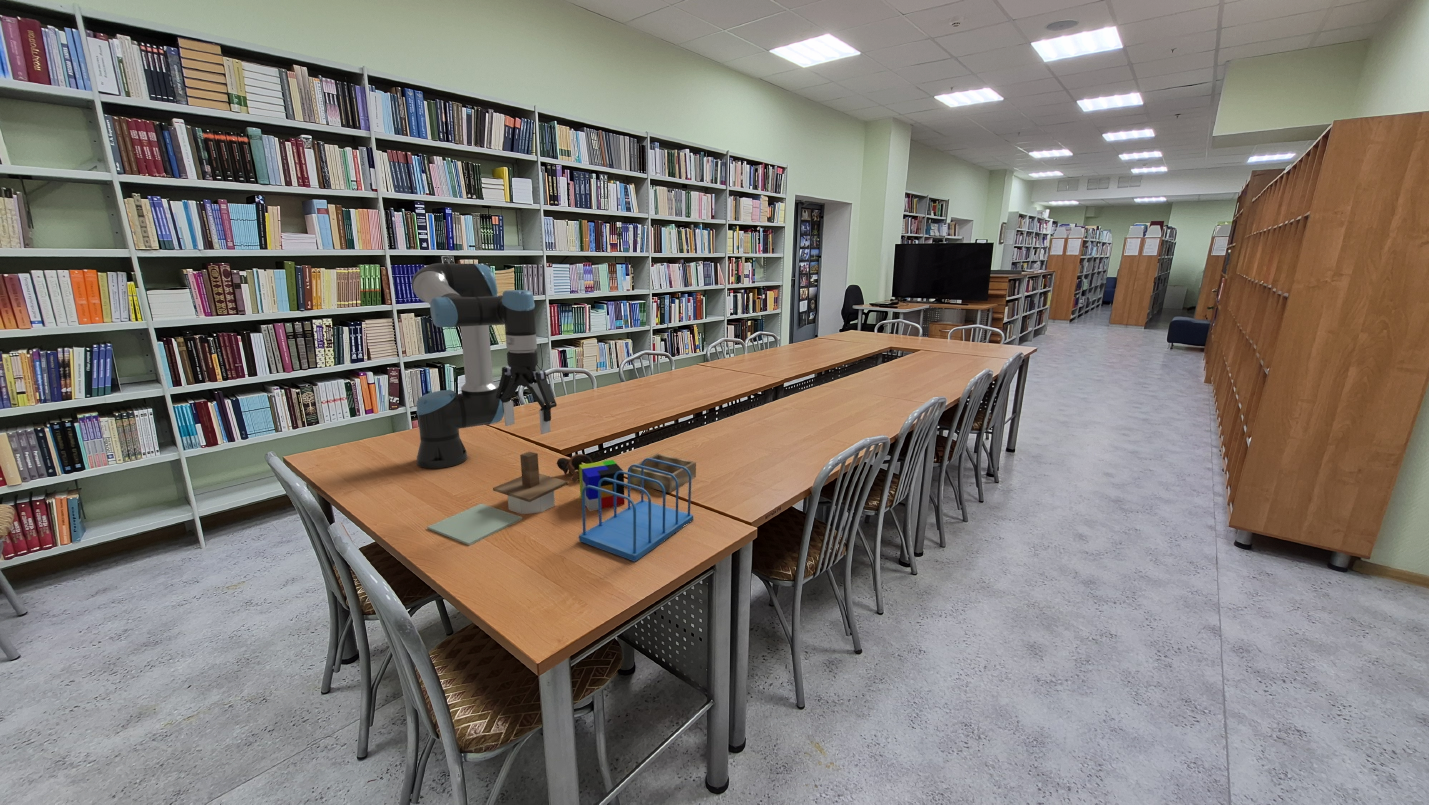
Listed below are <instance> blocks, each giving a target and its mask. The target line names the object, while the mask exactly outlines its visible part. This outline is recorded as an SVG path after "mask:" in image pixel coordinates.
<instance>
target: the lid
mask: <svg viewBox="0 0 1429 805" xmlns="http://www.w3.org/2000/svg"><path fill="white" fill-rule="evenodd" d="M520 470H521V476H518V477H516V478H513V479H511V480H509V481H506V482H504V483H501V484H499V485H497V486H494V487H492V491H493V492H496V493H499V494H503V495H506V496H507V497H508V496H512V497H515V498H518V499H521V500H524V501H527V502H531V501H533V500H535V499H537V498H540V497H542V496H544V495H546V494H548V493H550V492H552V491H554V492H555V491H556V490H559V489H561V488H563V487H565V486H567V485H569V482H568V481H567V480H564V479H561V478H556V477H553V476H550V475H546V474H542V473H540V471H539V470H540V467H539V455H538V453H537V452H534V451H527V452H525V453H521V454H520Z"/></svg>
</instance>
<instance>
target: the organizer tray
mask: <svg viewBox="0 0 1429 805" xmlns="http://www.w3.org/2000/svg"><path fill="white" fill-rule="evenodd" d="M648 458H652V459H657V460H661V461H665V462H669V463H673V464H676V465H680V466H684V467H686V468H687V469H688V470H689V471H690V473H691V481H692V480H693V479H695V478H696V477H697V462H696V461H691V460H689V459H684V458H683V459H682V458H678V457H674V456H669V455H666V454H660V453H656V454H654V455H651V456H650V457H648ZM642 462H643V460H641V461H639V462H638V463H636V464H637V465H642ZM644 466H645V467H649V468H653V469H657V470H661V471H665V472H668V473H671V474H673V475H674V476H675V477H676V478H677V480H678V485H679V488H680V487H682V486H683V485H685V484H687V483H689V475H688V473H687V471H686V470H684V469H682V468H678V467H675V466H671V465H667V464H663V463H659V462H655V461H651V460H646V461H645V462H644ZM630 473H633V474H636V475H640V476H641V468H639V467H632V468H631V469H630ZM644 477H647V478H651V479H654V480H657V481H659V482H661V483H662V484H663V486H664V488H665V493H666V494H667V493H668V494H670V493H673V492H674V491H676V482H675V480H674V478H673V477H671V476H669V475H666V474H662V473H659V472H655V471H651V470H647V469H644ZM630 484H632V485H636V486H641V478H638V477H634V476H630ZM644 487H645V488H649V489H652V490H657V491H660V492H663V490H662V488H661V486H660V485H659V484H657V483H655V482H652V481H648V480H645V479H644Z"/></svg>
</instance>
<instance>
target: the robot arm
mask: <svg viewBox="0 0 1429 805" xmlns="http://www.w3.org/2000/svg"><path fill="white" fill-rule="evenodd" d="M411 288H412V291H413V293H414V294H415V295H416V297H417V298H418V299H419V300H420V301H422V302H425V303H427V304H428V305H429V306H430V307H429V308H430V309H429V310H430V311H429V312H430V317H431V320H432V323H433V325H434V326H435V327H438V328H449V329H451V328H459V327H460V335H461V344H462V355H463V356H462V357H463V368H464V370H463V371H464V378H465V379H464V380H465V383H464V384H463V385H462V386H461V387H460V388H461V393H456V391H454V390H453V389H445V390H444V389H443V390H437V391H432V392H428V393H425V394H424V395H422V396H420V397H419V398H418V399H417V400H416V414H417V420H418V430H419V438H420V443H419V447H418V451H417V455H416V464H417V466H419V467H420V468H423V469H428V470H429V469H431V470H432V469H433V470H435V469H445V468H450V467H454V466H458V465H460V464H462V463H464V462H465V461H466V460H468V452H467V450H466V448H465V445H464V443H463V441H462V440H461V437H460V429H467V428H474V427H480V426H489V425H493V424H498V423H500V422H502V420H503V418H504V426H505V427H509V426H512V425H515V424H516V423H515V409H514V408H515V406H514V401H513V396H514V395H515V393H516V391H517V390H518V389H519V387H520V386H522V387H525V388H527V389H528V390H530V392H531V393H532V395H533V397H534V398H535V400H536V402H537V404H538V405H539V406H540V409H539V410H538V412H539V424H540V425H539V426H540V427H539V428H540V434H541V435H544V434H547V433H550V432H551V420H552V408H557V406H558V404H557V401H556V398H555V397H554V394H553V391H552V389H551V387H550V383H549V382H548V380H547V379H548V378H547V373H546V371H545V370H541V371H537V368H536V367H537V365H538V364H539V359H538V351H537V349H538V342H537V332H536V311H535V307H536V303H535V298H534V294H533V291H531V290H527V289H526V290H523V289H516V290H515V289H511V290H510V289H507V290H504V291H502V295H501V294H500V295H498V293H499V292H498V286H497V281H496V278H495V275H494V273H493V271H492V269H491V268H490V267H489V265H486V264H479V263H474V262H473V263H444V262H442V263H441V262H439V263H437V262H436V263H432V264H427V265H426V266H424V267H422V268H420V269H419V270H417V271H416V273H414V275H413V277H412V280H411ZM498 325H499V326H502V325H504V332H505V345H506V347H505V348H506V350H507V353H506V359H507V361H506V362H507V365H506V366H502V367H501V377H500V380H499V382H498V383H499V384H497V383H495V382H494V378H493V377H494V376H493V365H492V364H493V363H492V350H491V338H490V326H498Z"/></svg>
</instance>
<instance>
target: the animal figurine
mask: <svg viewBox="0 0 1429 805" xmlns="http://www.w3.org/2000/svg"><path fill="white" fill-rule="evenodd" d="M584 460H588V462H589V463H594V462H593V459H592V457H590V456H589V455H587V454H584V453H577V454H573V455H572V456H571V457H570V458H565V457H560V458H558V459H557V462H556V466H557V467H558V468H559V470H561V471H563V473H564V474H565V475H567V473H568V474H572V476H571V481H573V482H575V483H576V482H577V481H578V480H580V476H579V465H582V464H583V461H584Z"/></svg>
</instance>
